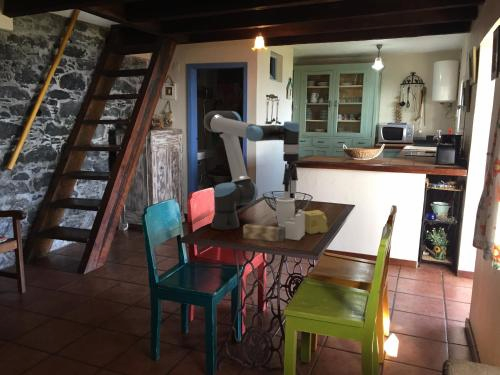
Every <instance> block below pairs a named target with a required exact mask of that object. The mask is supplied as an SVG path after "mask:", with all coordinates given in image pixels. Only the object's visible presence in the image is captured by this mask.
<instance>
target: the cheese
mask: <svg viewBox="0 0 500 375" xmlns="http://www.w3.org/2000/svg"><path fill="white" fill-rule="evenodd" d="M305 233H307V234H310V235H314V234H318V233H321V234H322V233H328V218H327V217H326V215H325V213H324V212H323V211H322V210H320V209H313V210H310V211H309V210H307V211H305Z"/></svg>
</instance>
